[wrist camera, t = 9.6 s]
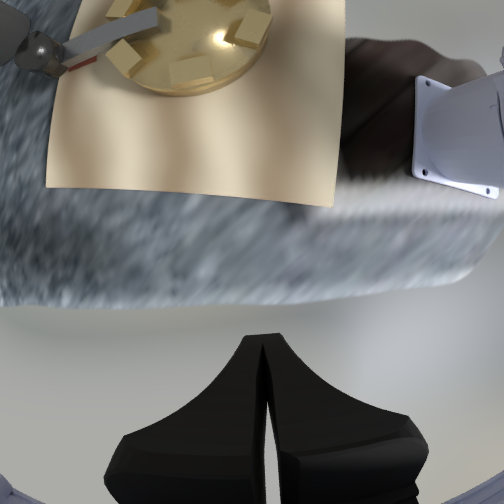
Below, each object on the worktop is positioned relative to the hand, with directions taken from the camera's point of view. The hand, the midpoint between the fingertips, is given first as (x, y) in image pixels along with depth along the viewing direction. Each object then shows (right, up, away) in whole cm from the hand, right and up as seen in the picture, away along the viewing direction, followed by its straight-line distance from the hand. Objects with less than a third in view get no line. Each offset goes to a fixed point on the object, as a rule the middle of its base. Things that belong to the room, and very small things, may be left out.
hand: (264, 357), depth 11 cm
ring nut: (-7, +18, +5) cm, 20 cm away
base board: (-4, +19, +6) cm, 20 cm away
